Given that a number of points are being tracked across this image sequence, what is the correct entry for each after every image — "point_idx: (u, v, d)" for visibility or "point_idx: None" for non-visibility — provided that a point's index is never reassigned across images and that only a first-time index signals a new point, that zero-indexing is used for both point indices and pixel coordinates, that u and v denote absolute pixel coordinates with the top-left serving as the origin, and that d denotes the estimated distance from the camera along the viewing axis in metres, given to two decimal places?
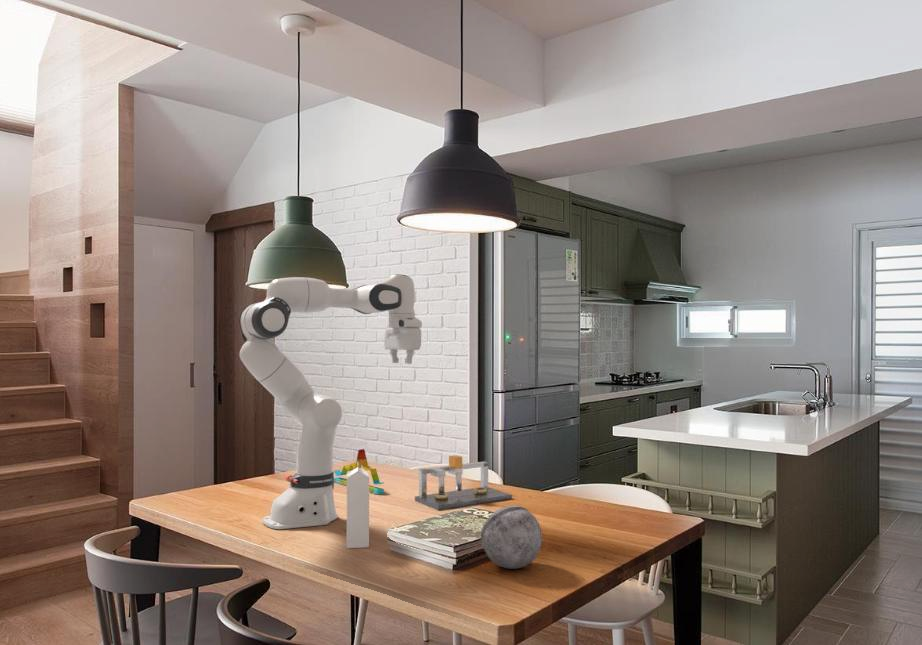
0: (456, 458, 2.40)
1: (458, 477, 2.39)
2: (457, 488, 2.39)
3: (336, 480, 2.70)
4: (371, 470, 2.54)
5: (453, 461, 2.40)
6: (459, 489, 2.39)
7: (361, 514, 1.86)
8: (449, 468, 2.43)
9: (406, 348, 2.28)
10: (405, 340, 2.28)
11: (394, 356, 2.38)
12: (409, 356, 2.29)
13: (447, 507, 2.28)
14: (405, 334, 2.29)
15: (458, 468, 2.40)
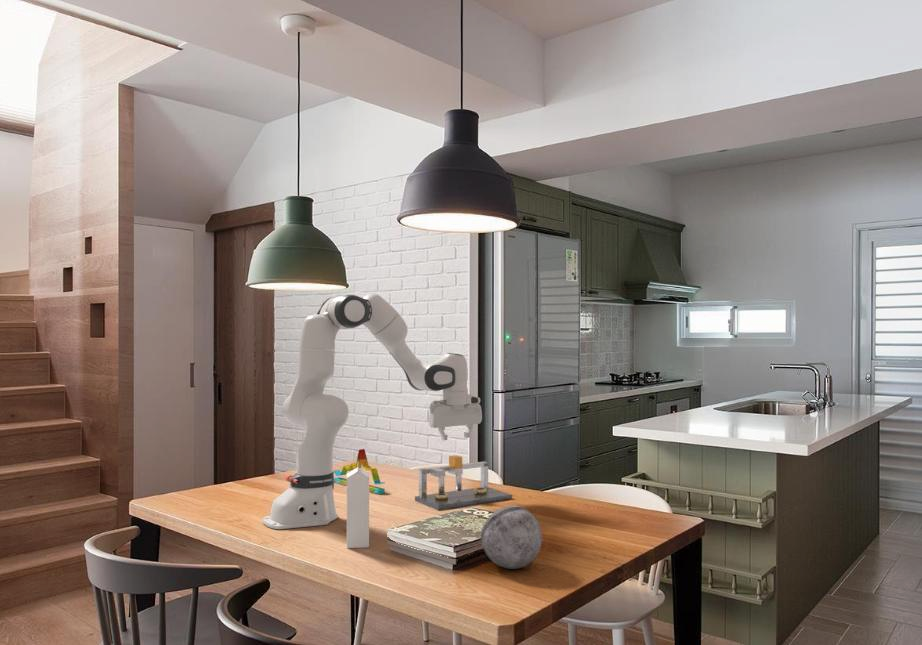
0: (456, 458, 2.40)
1: (458, 477, 2.39)
2: (457, 488, 2.39)
3: (336, 480, 2.70)
4: (372, 470, 2.54)
5: (453, 461, 2.40)
6: (459, 489, 2.39)
7: (361, 514, 1.86)
8: (449, 468, 2.43)
9: (473, 422, 2.44)
10: (473, 416, 2.44)
11: None
12: None
13: (447, 507, 2.28)
14: (470, 410, 2.44)
15: (458, 468, 2.40)
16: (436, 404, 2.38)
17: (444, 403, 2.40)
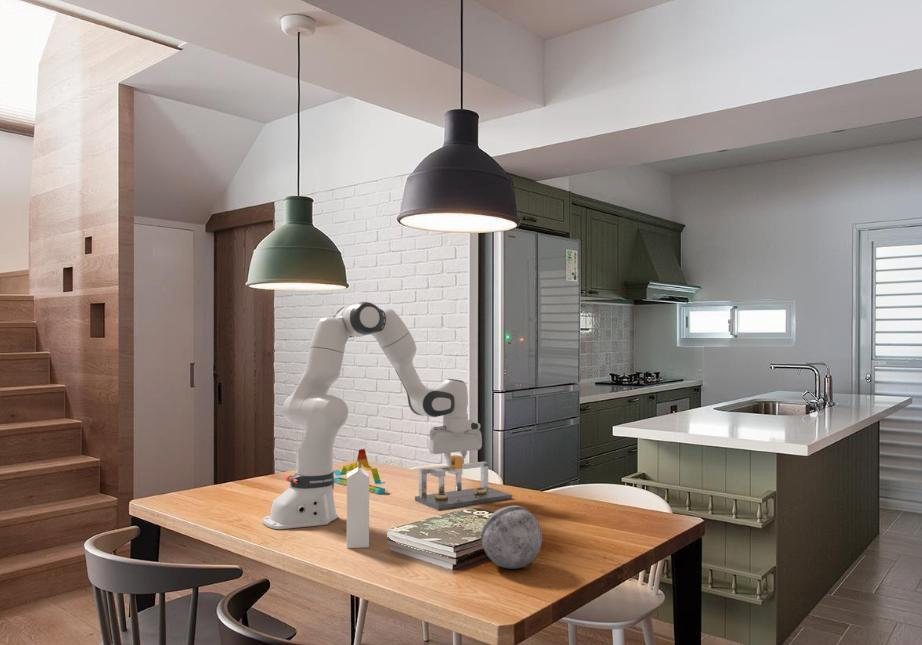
0: (456, 458, 2.40)
1: (458, 477, 2.39)
2: (457, 488, 2.39)
3: (336, 480, 2.70)
4: (372, 470, 2.54)
5: (453, 461, 2.40)
6: (459, 489, 2.39)
7: (361, 514, 1.86)
8: (449, 468, 2.43)
9: (473, 448, 2.44)
10: (473, 441, 2.44)
11: None
12: None
13: (447, 507, 2.28)
14: (470, 436, 2.44)
15: (458, 468, 2.40)
16: (436, 430, 2.38)
17: (444, 429, 2.39)
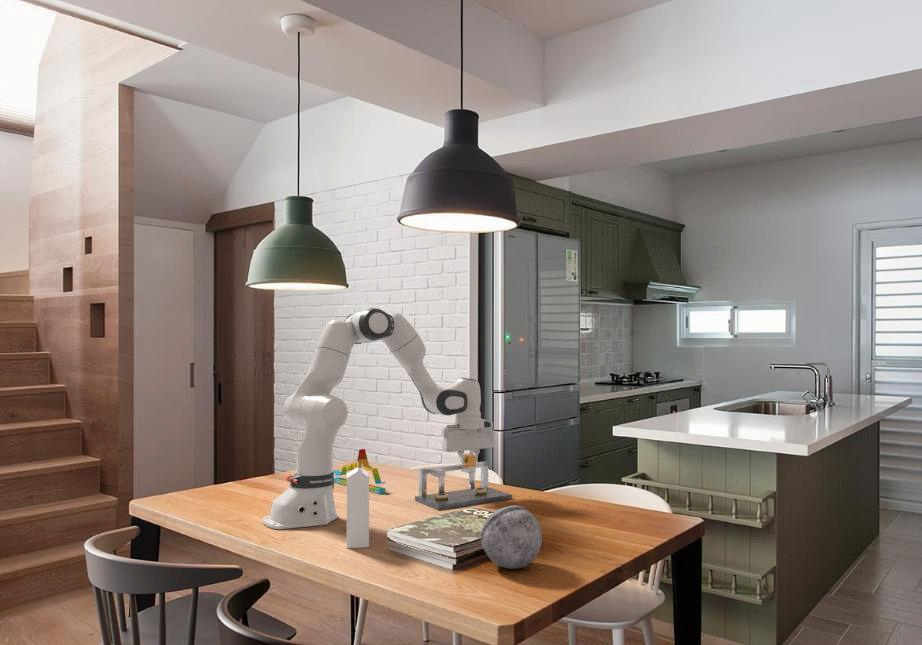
0: (469, 457, 2.43)
1: (471, 475, 2.42)
2: (470, 486, 2.42)
3: (335, 480, 2.70)
4: (372, 470, 2.54)
5: (466, 460, 2.43)
6: (472, 487, 2.42)
7: (361, 514, 1.86)
8: (462, 466, 2.45)
9: (486, 446, 2.47)
10: (485, 440, 2.47)
11: None
12: None
13: (447, 507, 2.28)
14: (483, 434, 2.47)
15: (471, 466, 2.43)
16: (449, 428, 2.41)
17: (457, 427, 2.42)
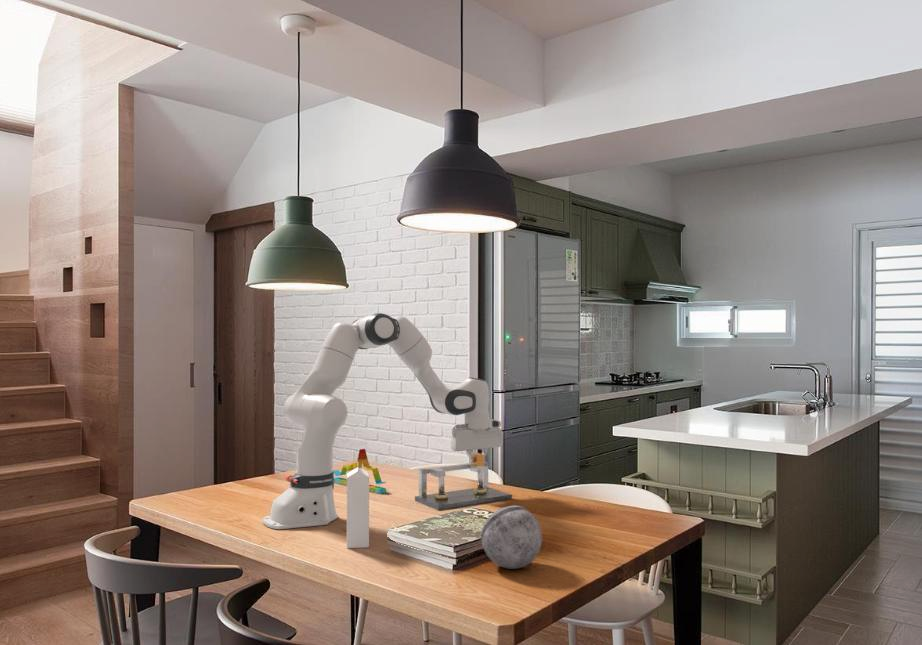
0: (478, 456, 2.45)
1: (480, 474, 2.44)
2: (479, 485, 2.44)
3: (335, 480, 2.70)
4: (373, 470, 2.55)
5: (475, 459, 2.45)
6: (481, 486, 2.44)
7: (361, 514, 1.86)
8: (471, 465, 2.47)
9: (494, 446, 2.49)
10: (494, 439, 2.49)
11: None
12: None
13: (447, 507, 2.28)
14: (491, 433, 2.49)
15: (480, 465, 2.45)
16: (458, 428, 2.43)
17: (466, 427, 2.44)
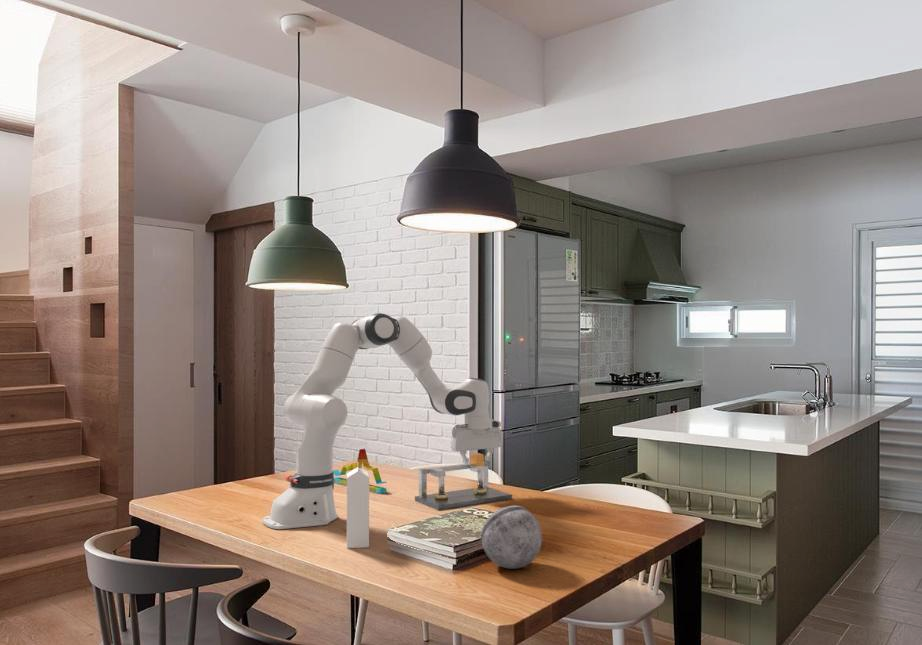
0: (478, 456, 2.45)
1: (480, 474, 2.44)
2: (479, 485, 2.44)
3: (335, 480, 2.70)
4: (373, 469, 2.55)
5: (475, 459, 2.45)
6: (481, 486, 2.44)
7: (361, 514, 1.86)
8: (471, 465, 2.47)
9: (494, 446, 2.49)
10: (493, 439, 2.49)
11: None
12: None
13: (447, 507, 2.28)
14: (491, 434, 2.49)
15: (480, 465, 2.45)
16: (458, 428, 2.42)
17: (466, 427, 2.44)
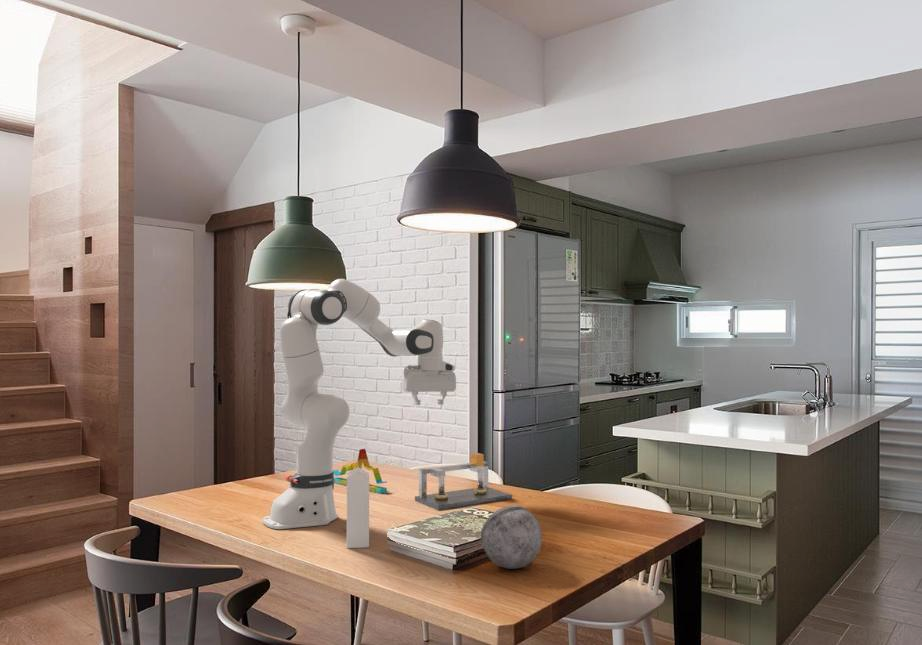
0: (478, 456, 2.45)
1: (480, 474, 2.44)
2: (479, 485, 2.44)
3: (335, 480, 2.70)
4: (373, 469, 2.55)
5: (475, 459, 2.45)
6: (481, 486, 2.44)
7: (361, 514, 1.86)
8: (471, 465, 2.47)
9: (447, 390, 2.47)
10: (447, 383, 2.47)
11: None
12: None
13: (447, 507, 2.28)
14: (445, 377, 2.47)
15: (480, 465, 2.45)
16: (410, 369, 2.41)
17: (418, 368, 2.43)
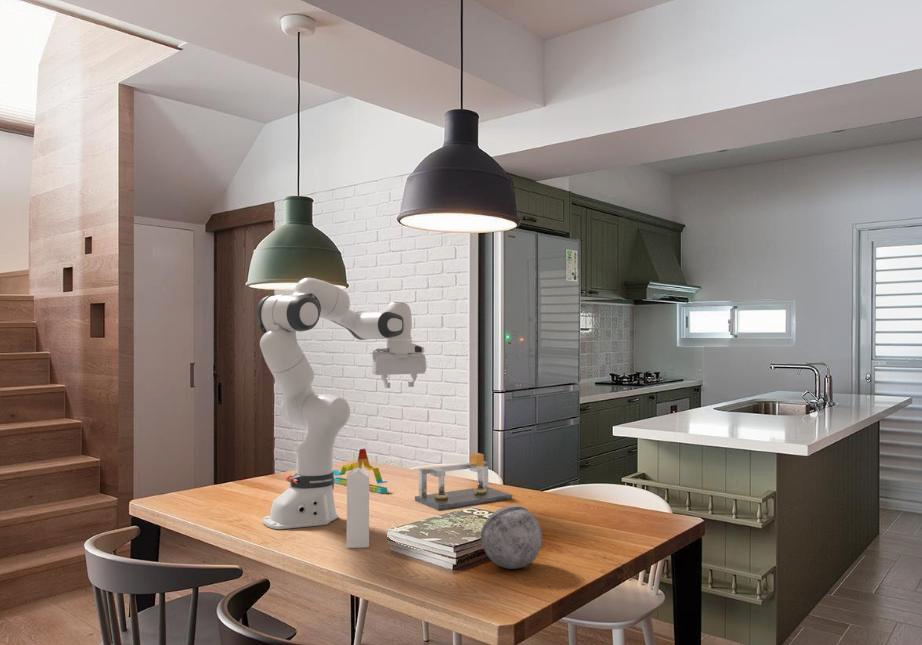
0: (478, 456, 2.45)
1: (480, 474, 2.44)
2: (479, 485, 2.44)
3: (335, 480, 2.70)
4: (374, 469, 2.55)
5: (475, 459, 2.45)
6: (481, 486, 2.44)
7: (361, 514, 1.86)
8: (471, 465, 2.47)
9: (417, 372, 2.46)
10: (417, 365, 2.46)
11: None
12: None
13: (447, 507, 2.28)
14: (414, 359, 2.46)
15: (480, 465, 2.45)
16: (379, 352, 2.40)
17: (387, 351, 2.42)
